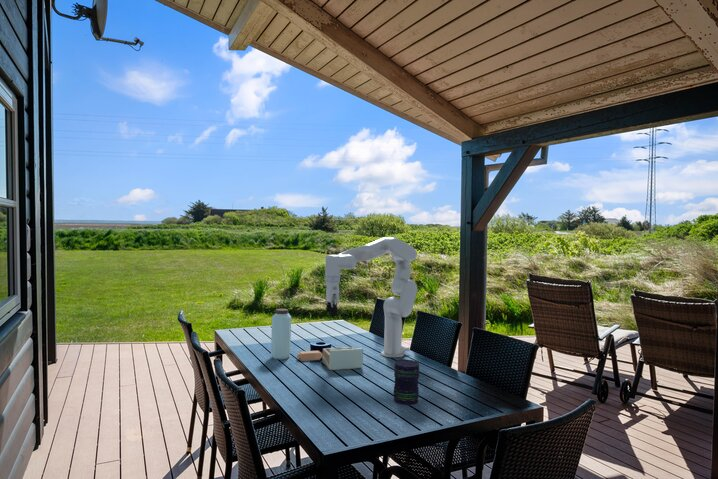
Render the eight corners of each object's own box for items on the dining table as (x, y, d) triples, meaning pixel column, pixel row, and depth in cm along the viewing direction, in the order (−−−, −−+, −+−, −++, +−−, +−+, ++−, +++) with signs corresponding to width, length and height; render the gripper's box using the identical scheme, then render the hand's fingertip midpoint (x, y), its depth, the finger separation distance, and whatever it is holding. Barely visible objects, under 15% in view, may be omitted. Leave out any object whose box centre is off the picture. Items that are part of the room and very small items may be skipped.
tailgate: (361, 366, 219) (362, 348, 219) (362, 367, 218) (363, 348, 217) (329, 368, 213) (329, 350, 213) (329, 369, 212) (330, 350, 212)
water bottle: (266, 358, 232) (268, 309, 232) (278, 353, 241) (280, 307, 241) (282, 361, 228) (283, 311, 228) (294, 356, 237) (295, 309, 236)
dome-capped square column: (321, 357, 236) (321, 350, 236) (323, 359, 232) (323, 352, 232) (296, 359, 232) (296, 351, 232) (297, 361, 228) (297, 353, 228)
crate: (352, 360, 232) (352, 346, 232) (361, 368, 219) (361, 353, 219) (322, 362, 227) (322, 348, 227) (329, 370, 214) (329, 355, 214)
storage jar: (402, 394, 183) (403, 350, 183) (423, 400, 177) (424, 355, 177) (388, 400, 176) (389, 355, 176) (409, 407, 169) (410, 359, 169)
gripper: (344, 281, 218) (343, 316, 218) (335, 277, 234) (334, 310, 234) (329, 281, 216) (328, 316, 216) (321, 277, 232) (320, 310, 232)
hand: (331, 313), depth 225 cm, fingers open, 9 cm apart
